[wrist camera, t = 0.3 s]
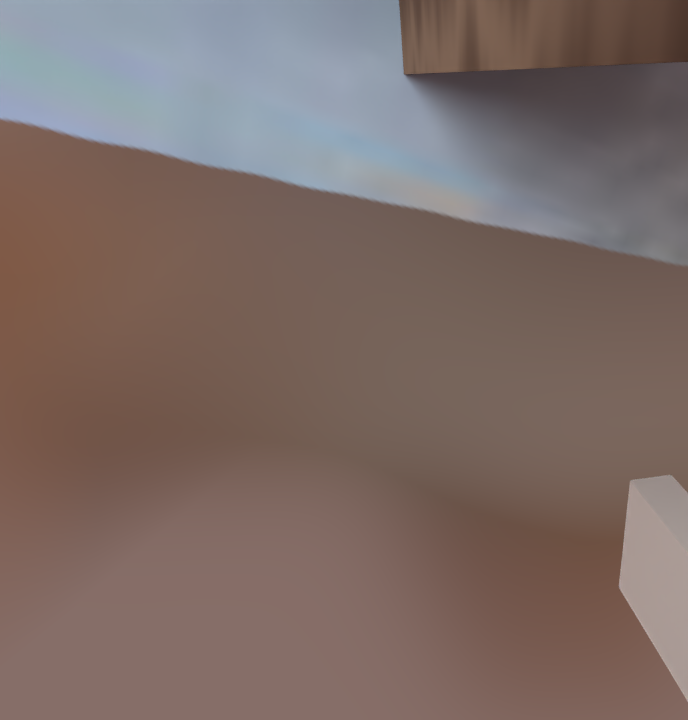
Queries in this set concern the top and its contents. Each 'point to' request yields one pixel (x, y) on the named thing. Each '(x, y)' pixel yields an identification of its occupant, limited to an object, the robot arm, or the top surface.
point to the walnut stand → (540, 33)
